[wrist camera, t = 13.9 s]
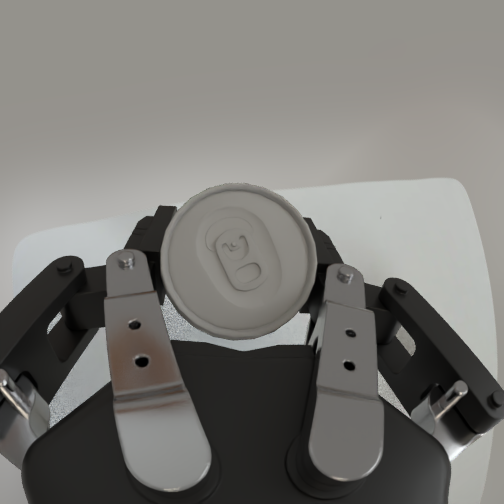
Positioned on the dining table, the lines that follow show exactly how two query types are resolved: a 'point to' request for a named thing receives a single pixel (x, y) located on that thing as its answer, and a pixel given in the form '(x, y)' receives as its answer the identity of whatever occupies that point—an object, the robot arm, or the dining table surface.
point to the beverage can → (238, 261)
